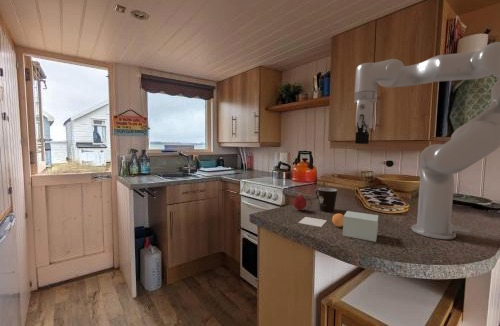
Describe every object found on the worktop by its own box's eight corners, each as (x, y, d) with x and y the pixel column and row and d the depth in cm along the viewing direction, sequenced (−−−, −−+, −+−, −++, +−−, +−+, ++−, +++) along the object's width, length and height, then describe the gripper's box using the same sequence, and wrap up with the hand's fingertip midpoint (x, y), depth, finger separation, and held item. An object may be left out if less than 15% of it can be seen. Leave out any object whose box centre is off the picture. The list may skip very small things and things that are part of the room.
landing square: (326, 220, 99) (326, 220, 99) (321, 227, 91) (321, 226, 91) (305, 217, 103) (305, 216, 103) (298, 223, 96) (298, 222, 96)
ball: (346, 225, 93) (347, 213, 93) (344, 229, 89) (345, 216, 88) (333, 223, 96) (333, 211, 95) (330, 227, 91) (331, 214, 91)
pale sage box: (377, 234, 85) (378, 215, 84) (375, 241, 78) (377, 221, 77) (346, 228, 90) (347, 210, 89) (342, 235, 83) (343, 216, 83)
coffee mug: (339, 213, 110) (340, 191, 109) (320, 212, 110) (320, 191, 110) (331, 206, 122) (331, 186, 121) (313, 206, 122) (314, 186, 121)
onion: (298, 213, 110) (299, 195, 109) (290, 209, 115) (291, 193, 114) (308, 211, 112) (309, 194, 112) (300, 208, 117) (300, 192, 117)
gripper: (373, 93, 82) (370, 143, 83) (378, 101, 96) (375, 144, 98) (350, 94, 86) (347, 143, 87) (358, 102, 100) (355, 143, 102)
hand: (362, 143), depth 93 cm, fingers open, 9 cm apart
